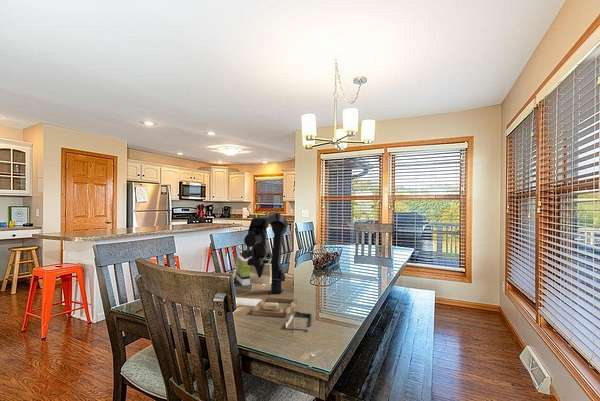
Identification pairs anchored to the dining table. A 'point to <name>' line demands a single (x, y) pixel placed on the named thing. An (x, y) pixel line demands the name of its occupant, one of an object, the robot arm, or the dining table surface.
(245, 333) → the dining table surface
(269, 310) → the offcut middle
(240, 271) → the tea box
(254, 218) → the robot arm
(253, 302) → the mat
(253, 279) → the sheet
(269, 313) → the rack
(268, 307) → the offcut top
